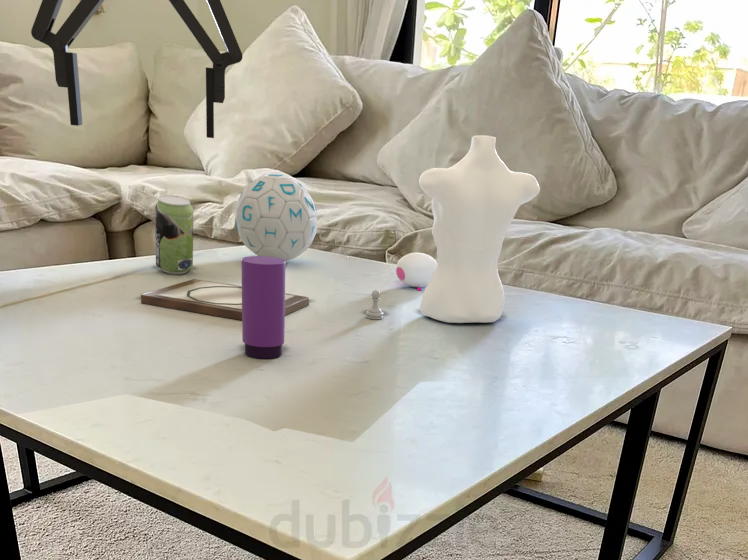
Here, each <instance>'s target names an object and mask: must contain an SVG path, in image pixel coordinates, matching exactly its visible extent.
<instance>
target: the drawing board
mask: <svg viewBox="0 0 748 560" xmlns="http://www.w3.org/2000/svg"><path fill="white" fill-rule="evenodd" d="M140 303H142V304H144V305H151V306H156V307H161V308H168V309H174V310H179V311H186V312H191V313H196V314H203V315H208V316H214V317H219V318H226V319H232V320H238V321H242V285H235V284H228V283H222V282H216V281H210V280H204V279H199V278H192V279H189V280H185V281H182V282H179V283H175V284H172V285H168V286H166V287H161V288H159V289H156V290H152V291H149V292H146V293H142V294H140ZM309 305H310V297H309V296H304V295H298V294H291V293H286V292H285V316H287V315H290V314H292V313H294V312H296V311H299V310H301V309H303V308H305V307H307V306H309Z"/></svg>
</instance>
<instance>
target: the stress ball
mask: <svg viewBox="0 0 748 560" xmlns="http://www.w3.org/2000/svg"><path fill="white" fill-rule="evenodd" d="M436 268H437V260H436V259H434V257H432V256H431V255H429V254H427V253H424V252H410V253H407V254H405V255H403V256H402V257H401V258H398V261H397V262H396V264H395V275H396V277H397V279H398V280H399V281H400V282H401V283H402V284H404V285H406V286H408V287H412V288H417V289H416V291H423V289H421V288H423V287H424V288H425V287H426V286H427V285H428V283H429V281H430V279H431V278H432V276H433V274H434V272H435V270H436Z"/></svg>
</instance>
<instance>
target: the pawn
mask: <svg viewBox="0 0 748 560" xmlns="http://www.w3.org/2000/svg"><path fill="white" fill-rule="evenodd" d="M380 297H381V292H380V290H378V289H374V290H373V291H372V292H371V298H370V300H371V301H372V305H371V306H370V308H368V310H366V311H365V317H366V318H367V319H369V320H382V319H383V318H384V312H383V311H382V309H381V308H380V306H379V301H381V298H380Z"/></svg>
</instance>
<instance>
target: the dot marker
mask: <svg viewBox="0 0 748 560" xmlns="http://www.w3.org/2000/svg"><path fill="white" fill-rule="evenodd" d="M240 265H241V266H240V267H241V286H242V320H241V332H242V333H241V337H242V338H241V339H242V343H244V353H245V355H246V356H248V357H249V358H253V359H258V360H259V359H261V360H271V359H277V358H280V357H281V356H282V355H283V345H284V344H285V328H286V326H285V324H286V319H285V317H286V315H285V293H286V261H285V260H283V259H280V258H275V257H268V256H257V255H250V256H245V257H242V258H241V264H240Z"/></svg>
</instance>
